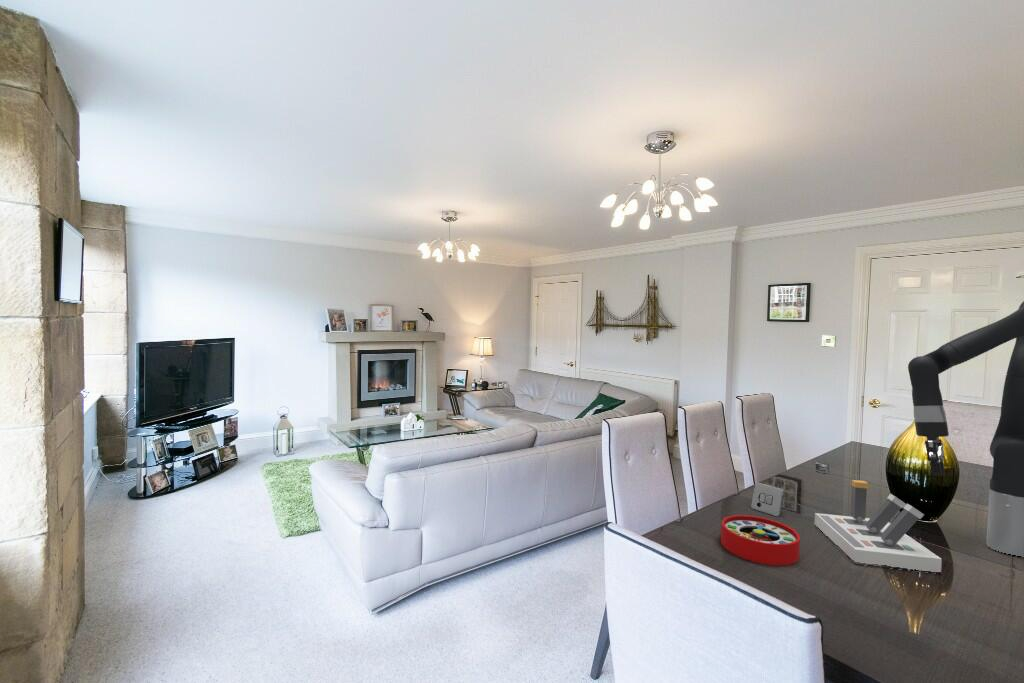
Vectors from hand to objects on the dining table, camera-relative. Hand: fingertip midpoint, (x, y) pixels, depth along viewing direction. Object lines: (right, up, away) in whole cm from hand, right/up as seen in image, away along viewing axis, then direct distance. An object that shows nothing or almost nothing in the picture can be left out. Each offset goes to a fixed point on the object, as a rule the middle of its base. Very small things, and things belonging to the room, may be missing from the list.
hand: (938, 474), depth 143 cm
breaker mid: (-25, -14, -6) cm, 29 cm away
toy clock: (-59, -19, -8) cm, 63 cm away
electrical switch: (-41, -19, +21) cm, 50 cm away
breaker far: (-26, -14, -13) cm, 33 cm away
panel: (-25, -20, -5) cm, 32 cm away
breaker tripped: (-23, -14, +2) cm, 27 cm away
